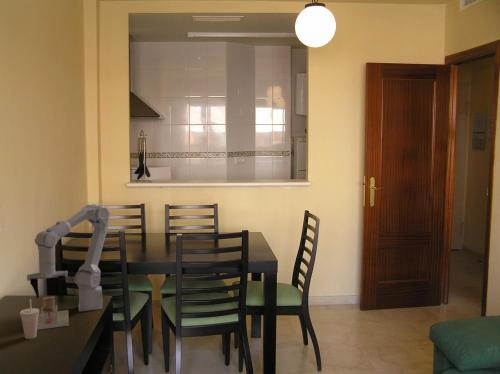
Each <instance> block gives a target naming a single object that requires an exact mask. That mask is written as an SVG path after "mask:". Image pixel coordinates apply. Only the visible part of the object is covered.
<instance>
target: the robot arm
mask: <svg viewBox="0 0 500 374" xmlns="http://www.w3.org/2000/svg"><path fill="white" fill-rule="evenodd" d="M110 215H111V212H110V211H109V210H108V208H107V207H106V206H105V205H95V204H94V205H93V204H86V205H85V206H84V207H82V208H81V210H79V211H78V212H76V213H75V214H74V215H73V216H71V217H70V218H69V219H67V220H57V221H56V223H55V224H54V225H53V226H51V227H48V228H46V230H45V231H40V232H38V233H37V234H36V236H35V239H34V243H35V244H36V246H37V250H38V265H39V268H38V269H39V272H37V273H36V272H35V273H30V274H29V273H28V274H26V281H27V282H28V281H29V284H30V285H31V287H32V289H33V290H34V292H35V297H36V299H39V298H40V292H39V280H45V279H53V278H57V285H58V286H57V296H58V297H60V296H61V291H62V287H63V284H64V282H65V280H66V278H68V277H69V276H68V275H69V274H68V273H69V272H68V270H56V256H55V255H56V252H55V249H56V248H55V247H56V245H57V244H58V241H59V240H61V239H62V238H64V237H65V236H67V235H68V234H70V232H71V230H72V228H74V227H75V226H77V225H79V224H81V223H82V222H85V221H86V220H87V221H88V222H89V223H90V224H91V225H92V227H93V228H94V229H93V232H92V234H91V235H92V236H91V239H90V242H89V246H88V250H87V254H86V256H85V260H84V263H83V264H82V265H81V266H79V268H78V270H77V272H76V273H75V275H74V282H75V284H76V285H77V288H78V302H79V303H78V306H77V307H78V312H87V311H94V310H102V309H103V304H104V303H103V302H104V301H103V290H102V289H103V288H102V286H101V285H100V283H101V272H102V271H101V270H100V268H99V263H100V258H101V254H102V251H103V247H104V244H105V240H106V236H107V233H108V229H109V218H110Z"/></svg>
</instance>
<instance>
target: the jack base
mask: <svg viewBox="0 0 500 374" xmlns="http://www.w3.org/2000/svg"><path fill="white" fill-rule="evenodd" d="M69 316H70V315H69V309H65V310H58V305H57V304H55V310H52V309H47V310H46V311H43V306H41V307H40V312H39V314H38V323H37V331H39V330H48V329H53V328H56V329H57V328H61V327H68V326H70V320H69V318H70V317H69Z"/></svg>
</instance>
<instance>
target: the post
mask: <svg viewBox="0 0 500 374" xmlns="http://www.w3.org/2000/svg"><path fill="white" fill-rule="evenodd" d="M55 305H56V304H55V296H52V295H51V296H44V297H43V298H42V307H43V311H46V310H47V309H52V310H55Z"/></svg>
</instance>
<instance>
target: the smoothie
mask: <svg viewBox="0 0 500 374" xmlns="http://www.w3.org/2000/svg"><path fill="white" fill-rule="evenodd" d="M32 306H33V305H32V299H31V298H30V299H29V308H26V309H21V311H20V312H19V316H20V317H21V318H20V319H21V324H22V329H23V332H24V333H23V334H24V339H25V340H31V339H35V338H36V337H37V332H38V330H37V323H38V314H40V309H39V308H35V307H32Z"/></svg>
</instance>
